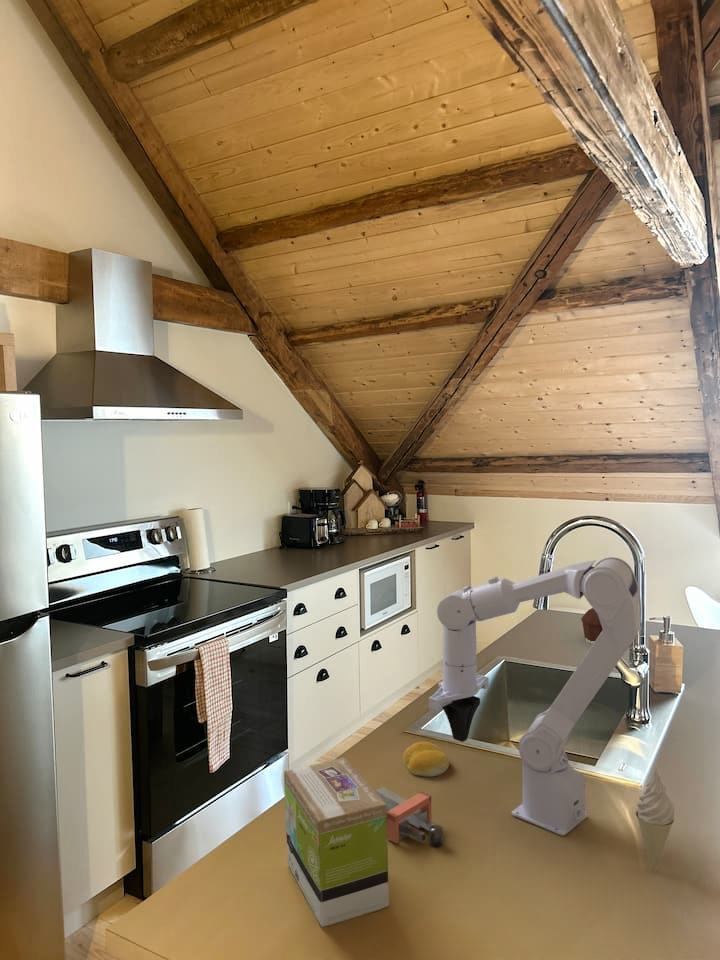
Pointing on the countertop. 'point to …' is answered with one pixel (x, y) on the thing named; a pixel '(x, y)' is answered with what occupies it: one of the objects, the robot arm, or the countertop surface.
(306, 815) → the tea box
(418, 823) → the bar
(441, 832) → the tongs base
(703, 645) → the countertop surface
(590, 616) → the muffin
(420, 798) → the pink bridge block
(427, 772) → the bread roll
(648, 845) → the ice cream cone
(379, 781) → the countertop surface
